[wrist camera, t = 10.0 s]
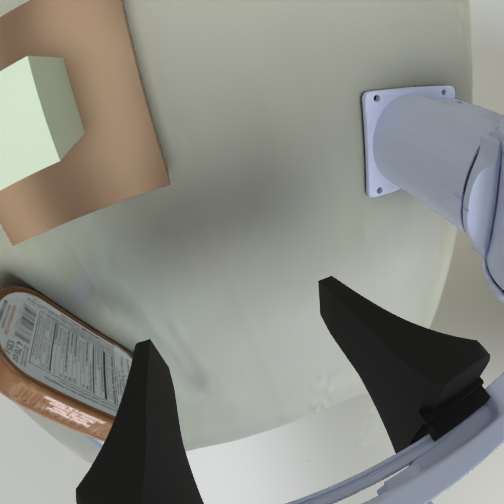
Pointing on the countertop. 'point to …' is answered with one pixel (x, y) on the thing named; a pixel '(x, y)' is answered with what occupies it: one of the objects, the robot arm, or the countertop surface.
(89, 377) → the tin
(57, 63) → the sage cube
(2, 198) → the walnut block
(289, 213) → the countertop surface
